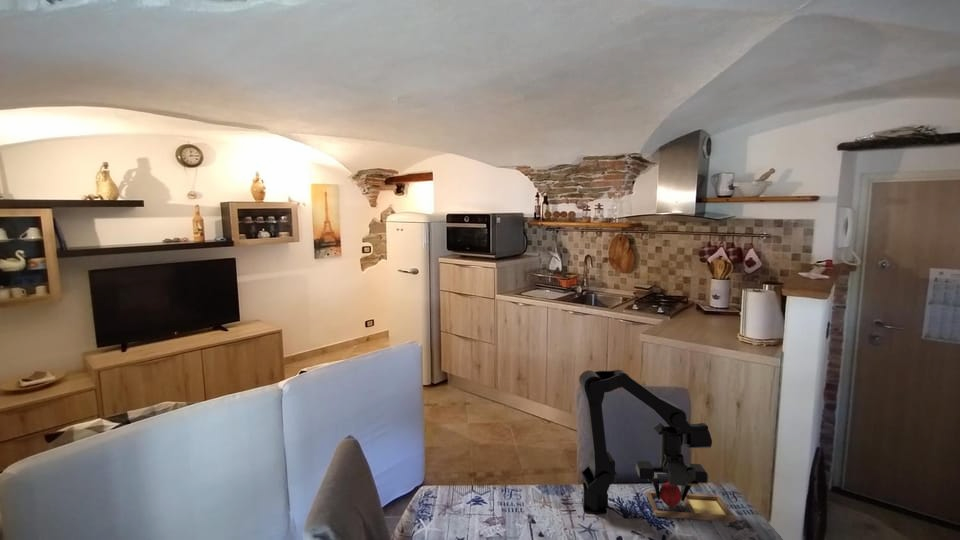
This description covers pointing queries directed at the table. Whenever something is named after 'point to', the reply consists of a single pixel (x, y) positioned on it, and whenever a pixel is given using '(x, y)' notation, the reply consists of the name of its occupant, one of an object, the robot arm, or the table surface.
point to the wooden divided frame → (696, 508)
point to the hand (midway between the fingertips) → (670, 499)
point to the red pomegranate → (670, 494)
